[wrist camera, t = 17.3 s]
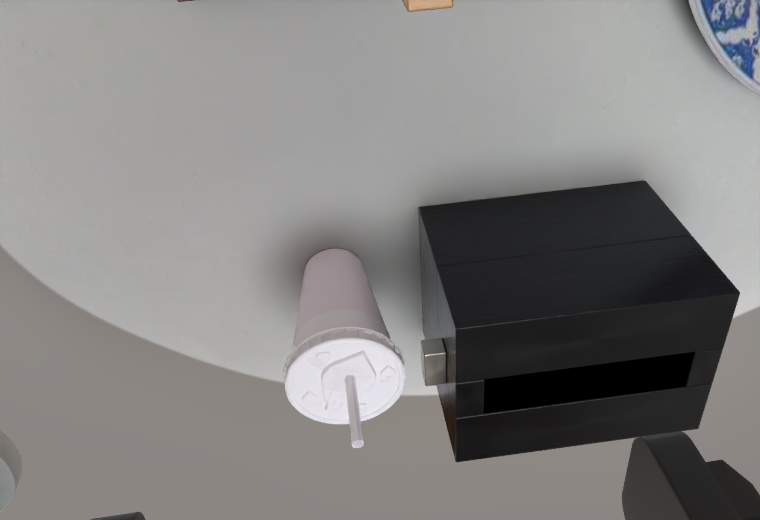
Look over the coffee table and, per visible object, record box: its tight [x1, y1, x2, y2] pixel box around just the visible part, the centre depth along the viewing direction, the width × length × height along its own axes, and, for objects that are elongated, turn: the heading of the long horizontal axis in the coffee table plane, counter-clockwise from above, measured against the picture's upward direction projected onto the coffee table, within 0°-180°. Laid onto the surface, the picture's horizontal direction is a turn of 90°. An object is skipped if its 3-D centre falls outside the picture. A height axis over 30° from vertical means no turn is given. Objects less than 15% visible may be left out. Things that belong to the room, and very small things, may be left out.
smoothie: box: [283, 249, 406, 448], centre depth 39 cm, size 6×6×14 cm
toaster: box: [419, 181, 740, 462], centre depth 41 cm, size 15×10×11 cm, turn 94°
